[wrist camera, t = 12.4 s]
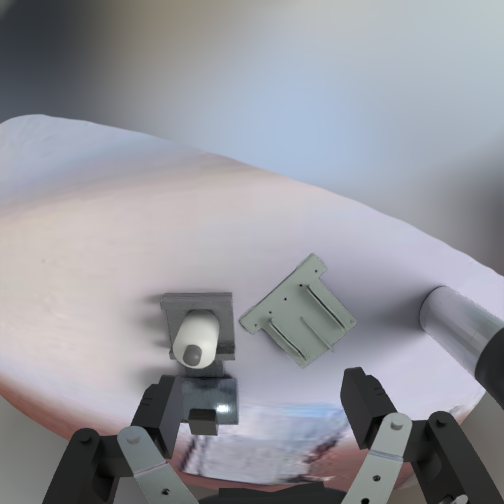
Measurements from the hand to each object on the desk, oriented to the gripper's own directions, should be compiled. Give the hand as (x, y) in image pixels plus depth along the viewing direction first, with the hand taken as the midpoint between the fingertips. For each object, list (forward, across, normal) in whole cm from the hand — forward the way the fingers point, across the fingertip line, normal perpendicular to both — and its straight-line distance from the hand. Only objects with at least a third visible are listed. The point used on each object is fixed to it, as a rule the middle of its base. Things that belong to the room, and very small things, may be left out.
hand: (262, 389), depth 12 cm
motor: (+28, +8, +17) cm, 34 cm away
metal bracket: (+29, -8, +10) cm, 31 cm away
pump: (+27, +8, +11) cm, 30 cm away
